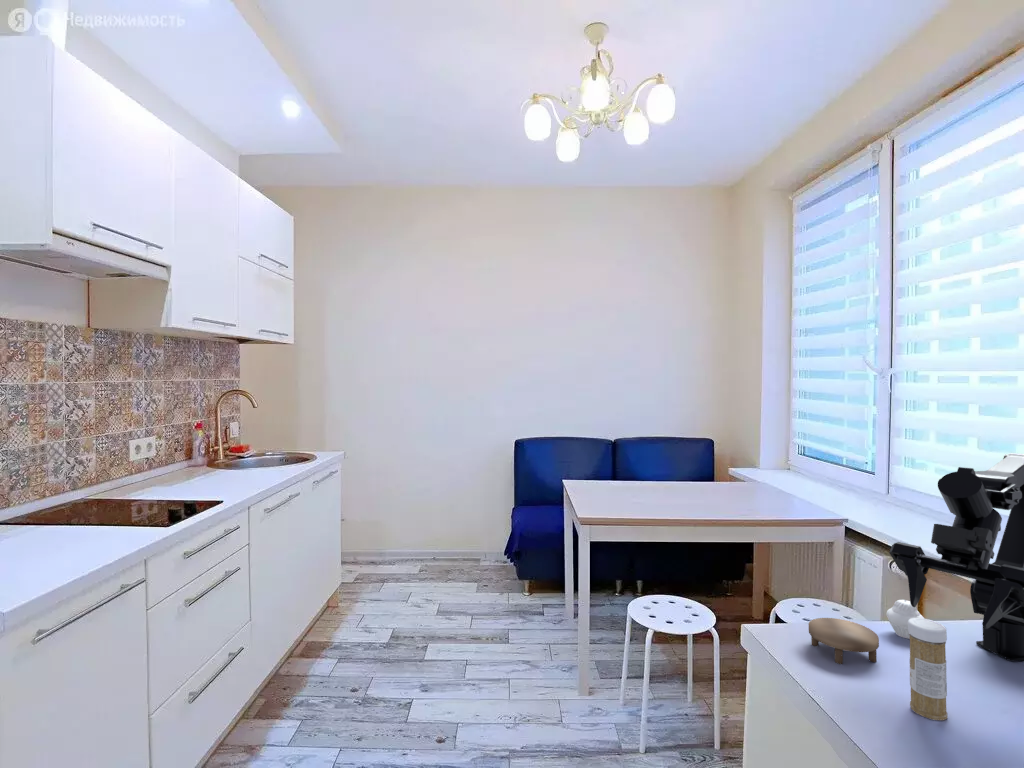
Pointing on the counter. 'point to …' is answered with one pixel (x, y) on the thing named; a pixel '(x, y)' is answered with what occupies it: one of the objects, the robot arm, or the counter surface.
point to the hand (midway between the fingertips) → (946, 615)
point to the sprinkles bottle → (928, 668)
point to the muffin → (902, 617)
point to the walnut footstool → (844, 637)
